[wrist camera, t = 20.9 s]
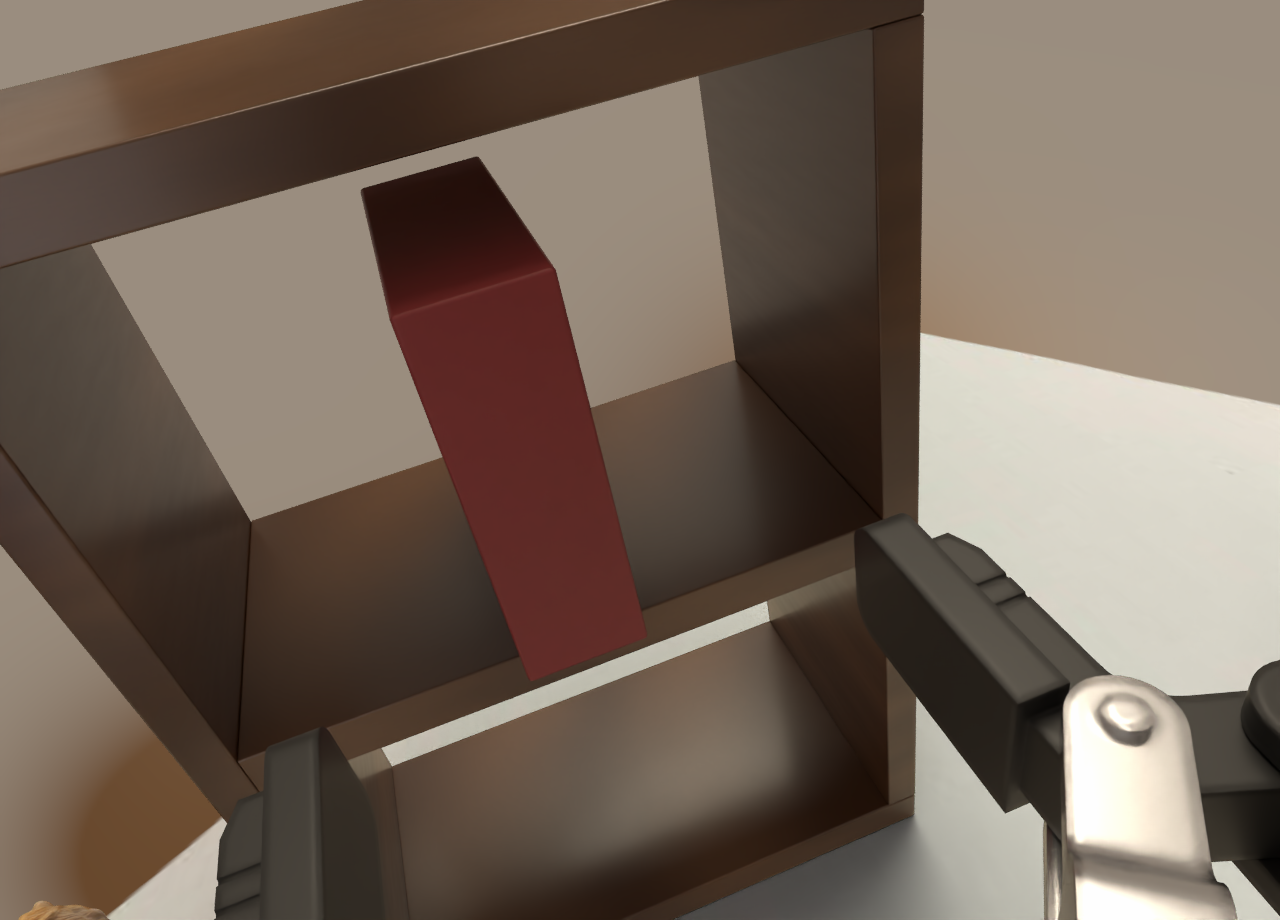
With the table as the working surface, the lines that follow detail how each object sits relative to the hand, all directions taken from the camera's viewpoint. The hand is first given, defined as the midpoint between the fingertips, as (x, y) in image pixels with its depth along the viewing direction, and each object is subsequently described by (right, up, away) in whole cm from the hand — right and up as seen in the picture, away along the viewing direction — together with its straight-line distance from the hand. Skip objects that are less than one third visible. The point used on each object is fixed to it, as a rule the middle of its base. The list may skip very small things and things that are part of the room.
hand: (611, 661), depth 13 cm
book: (-2, 0, +14) cm, 15 cm away
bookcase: (0, -12, +26) cm, 29 cm away
